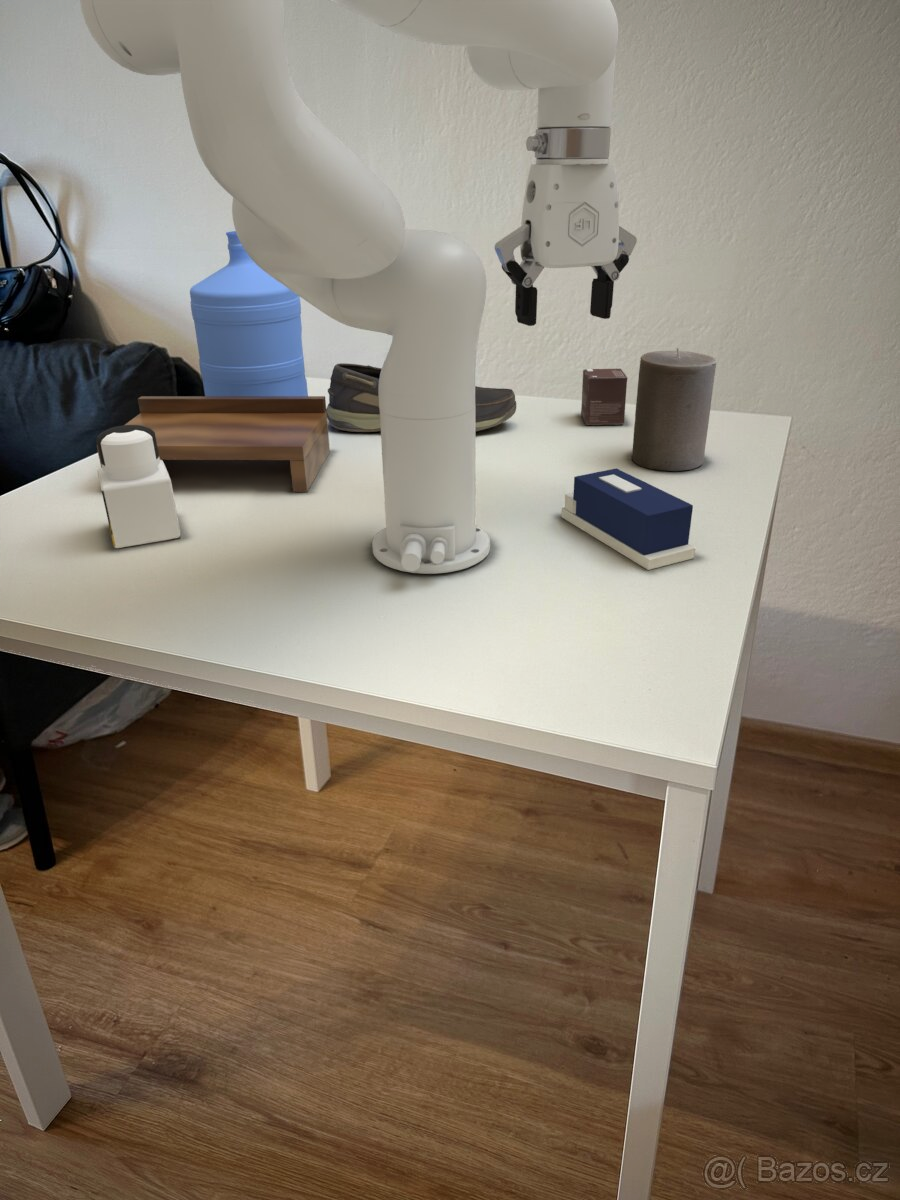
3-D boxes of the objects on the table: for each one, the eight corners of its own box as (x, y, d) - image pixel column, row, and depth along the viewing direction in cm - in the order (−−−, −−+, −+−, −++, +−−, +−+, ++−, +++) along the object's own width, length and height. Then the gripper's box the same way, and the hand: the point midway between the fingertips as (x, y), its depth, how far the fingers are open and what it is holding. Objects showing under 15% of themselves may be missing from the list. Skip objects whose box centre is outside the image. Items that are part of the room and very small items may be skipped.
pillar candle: (625, 467, 115) (635, 353, 108) (637, 445, 123) (647, 338, 116) (700, 475, 112) (715, 358, 105) (707, 452, 120) (722, 342, 113)
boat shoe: (517, 437, 127) (519, 363, 122) (321, 438, 128) (314, 366, 123) (514, 416, 137) (516, 347, 132) (331, 418, 138) (325, 349, 133)
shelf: (307, 492, 108) (301, 430, 105) (106, 491, 110) (92, 430, 106) (329, 451, 123) (325, 396, 119) (151, 451, 124) (141, 396, 120)
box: (624, 425, 132) (628, 377, 128) (584, 426, 132) (587, 377, 128) (618, 414, 137) (621, 367, 134) (580, 414, 137) (582, 368, 134)
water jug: (281, 446, 125) (258, 238, 112) (188, 437, 130) (156, 236, 116) (328, 417, 138) (313, 227, 125) (242, 410, 143) (219, 226, 129)
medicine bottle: (109, 526, 100) (87, 425, 94) (173, 516, 102) (155, 416, 96) (114, 549, 94) (91, 443, 88) (181, 538, 96) (162, 434, 91)
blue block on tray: (694, 558, 90) (701, 506, 87) (648, 570, 87) (653, 517, 85) (603, 507, 102) (606, 461, 100) (561, 517, 100) (563, 469, 97)
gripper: (517, 149, 83) (512, 332, 91) (663, 148, 89) (646, 319, 97) (481, 149, 89) (480, 321, 97) (620, 148, 95) (608, 309, 103)
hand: (563, 320), depth 97 cm, fingers open, 9 cm apart
